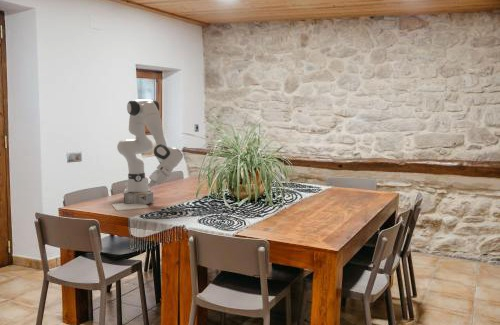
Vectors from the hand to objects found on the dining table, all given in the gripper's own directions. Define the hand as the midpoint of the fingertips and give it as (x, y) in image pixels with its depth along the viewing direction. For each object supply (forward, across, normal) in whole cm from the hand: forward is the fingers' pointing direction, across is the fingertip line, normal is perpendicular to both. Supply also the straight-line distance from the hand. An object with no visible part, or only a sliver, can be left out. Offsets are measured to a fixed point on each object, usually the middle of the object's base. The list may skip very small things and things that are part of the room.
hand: (148, 186), depth 296 cm
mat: (+17, 0, -1) cm, 17 cm away
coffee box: (+5, -1, +6) cm, 8 cm away
